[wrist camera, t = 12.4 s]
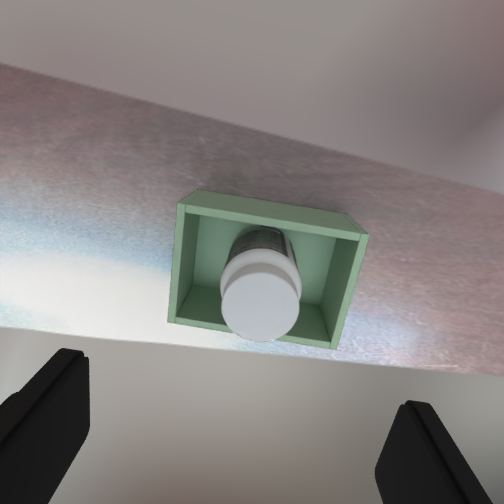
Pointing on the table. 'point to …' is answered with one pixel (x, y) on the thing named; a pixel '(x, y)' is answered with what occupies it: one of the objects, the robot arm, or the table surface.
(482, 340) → the table surface
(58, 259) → the table surface
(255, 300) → the pill bottle
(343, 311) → the bin
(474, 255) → the table surface
